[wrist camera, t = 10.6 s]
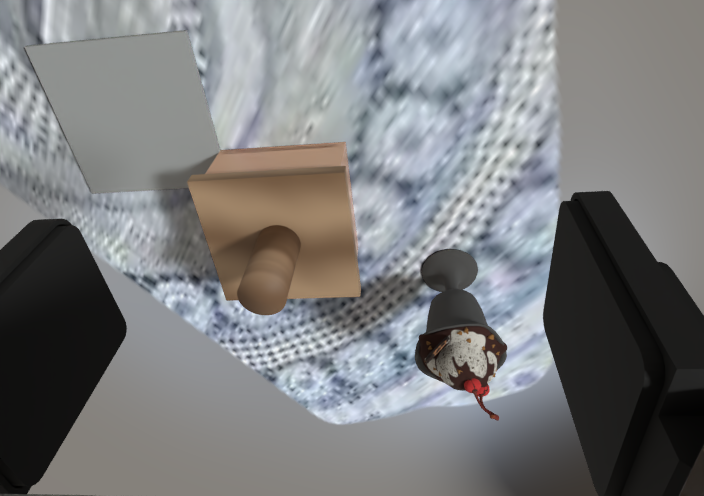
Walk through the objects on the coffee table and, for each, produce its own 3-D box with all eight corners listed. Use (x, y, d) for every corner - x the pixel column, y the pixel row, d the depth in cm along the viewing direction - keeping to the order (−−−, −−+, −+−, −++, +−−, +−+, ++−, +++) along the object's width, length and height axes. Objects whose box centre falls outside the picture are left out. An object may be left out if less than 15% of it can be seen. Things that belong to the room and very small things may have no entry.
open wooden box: (220, 150, 40) (200, 180, 36) (345, 141, 39) (339, 172, 35) (248, 251, 46) (234, 287, 42) (358, 247, 45) (354, 283, 41)
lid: (191, 174, 36) (153, 230, 30) (345, 165, 35) (334, 222, 29) (229, 292, 42) (203, 356, 37) (360, 288, 41) (354, 354, 35)
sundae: (493, 291, 47) (525, 436, 35) (421, 303, 48) (428, 446, 36) (482, 233, 43) (514, 373, 31) (404, 248, 45) (406, 387, 33)
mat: (27, 45, 36) (24, 47, 36) (187, 30, 35) (185, 31, 35) (94, 191, 43) (92, 193, 43) (229, 183, 42) (228, 186, 42)
